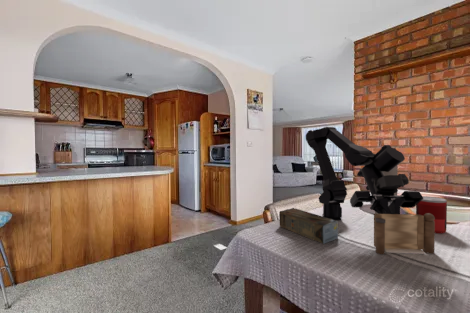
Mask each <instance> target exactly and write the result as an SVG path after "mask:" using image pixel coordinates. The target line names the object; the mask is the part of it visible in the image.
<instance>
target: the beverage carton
mask: <svg viewBox="0 0 470 313" xmlns="http://www.w3.org/2000/svg"><path fill="white" fill-rule="evenodd" d="M278 216H279V227H280V228H283V229H284V230H287V231H290V232H293V233H295V234H298V235H300V236H303V237H305V238H308V239H310V240H312V241H316V242H318V243H321V244H326V243H330V242H332V241H334V240H337V239H338V238H339V229H338V228H339V220H332V219H328V218H325V217H323V215H318V214H315V213H311V212H308V211H304V210H302V209H298V208H294V207H292V208H287V209H284V210H280V211H279V212H278Z"/></svg>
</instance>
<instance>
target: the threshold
mask: <svg viewBox="0 0 470 313" xmlns="http://www.w3.org/2000/svg"><path fill="white" fill-rule="evenodd" d="M385 253H386V254H387V253H390V254H391V253H392V254H415V255H416V254H417V255H419V254H420V255H421V254H422V255H425V252H424V251H423V250H418V249H394V248H385Z"/></svg>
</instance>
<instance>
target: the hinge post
mask: <svg viewBox="0 0 470 313" xmlns="http://www.w3.org/2000/svg"><path fill="white" fill-rule="evenodd" d="M423 216H424V244H423V250H422V251H423V252H424V253H425V254H431V255H434V254H435V238H436V237H435V234H436V233H435V222H434V220H435V217H434V216H433V215H432V214H430V213H426V214H424V215H423Z"/></svg>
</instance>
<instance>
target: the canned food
mask: <svg viewBox="0 0 470 313" xmlns="http://www.w3.org/2000/svg"><path fill="white" fill-rule="evenodd" d="M422 197H423V199H422V200H421V201H420V202H419V203H418V204H417V205H416V206H415V215H422V216H423V215H424V214H426V213H430V214H432V215H433V216H434V217H435V220H434V222H435V234H440V235H441V234H446V232H447V225H448V224H447V223H448V222H447V221H448V220H447V218H448V217H447V216H448V215H447V214H448V213H447V211H448V210H447V209H448V201H447V199H445V198H441V197H436V196H427V195H426V196H424V195H422Z"/></svg>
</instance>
